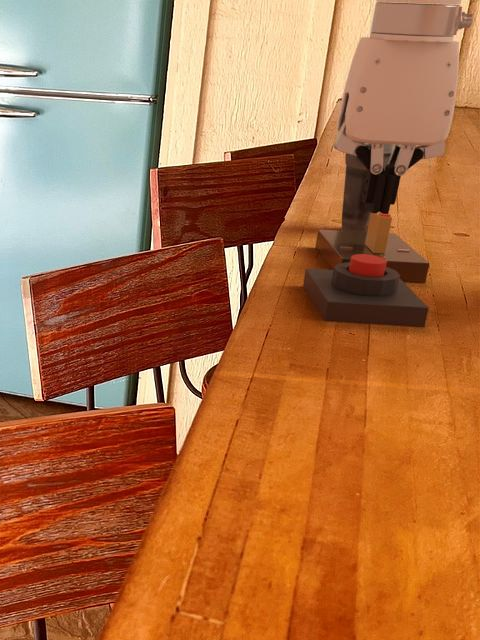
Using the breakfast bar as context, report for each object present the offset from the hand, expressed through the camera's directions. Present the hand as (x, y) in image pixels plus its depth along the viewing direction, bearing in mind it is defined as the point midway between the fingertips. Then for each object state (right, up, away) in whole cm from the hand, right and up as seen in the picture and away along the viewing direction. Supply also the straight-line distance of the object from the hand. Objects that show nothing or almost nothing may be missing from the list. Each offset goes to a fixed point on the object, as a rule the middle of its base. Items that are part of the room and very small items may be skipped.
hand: (376, 210), depth 93 cm
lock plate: (+7, -4, +19) cm, 21 cm away
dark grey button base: (0, -10, +4) cm, 11 cm away
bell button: (0, -7, +3) cm, 7 cm away
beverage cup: (+12, +3, +34) cm, 37 cm away
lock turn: (+7, -2, +16) cm, 18 cm away
